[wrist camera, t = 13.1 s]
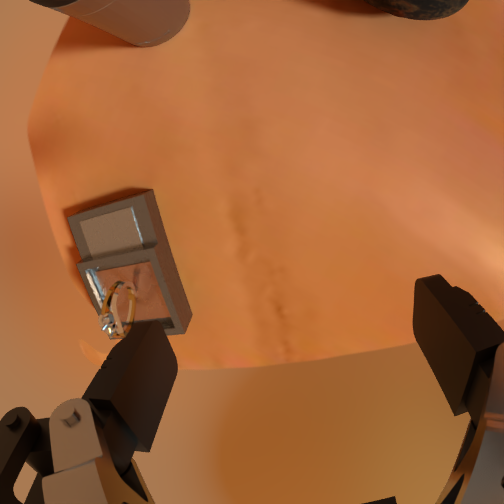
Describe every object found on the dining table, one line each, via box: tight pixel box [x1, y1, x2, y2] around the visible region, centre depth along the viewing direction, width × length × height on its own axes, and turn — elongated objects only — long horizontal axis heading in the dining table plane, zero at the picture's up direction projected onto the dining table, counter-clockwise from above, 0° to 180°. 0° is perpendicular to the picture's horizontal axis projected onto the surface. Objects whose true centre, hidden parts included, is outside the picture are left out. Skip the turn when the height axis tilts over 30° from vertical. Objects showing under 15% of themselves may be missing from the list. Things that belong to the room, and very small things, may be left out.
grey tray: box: [67, 189, 193, 339], centre depth 38 cm, size 18×12×4 cm, turn 12°
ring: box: [98, 280, 137, 338], centre depth 35 cm, size 7×3×8 cm, turn 172°
